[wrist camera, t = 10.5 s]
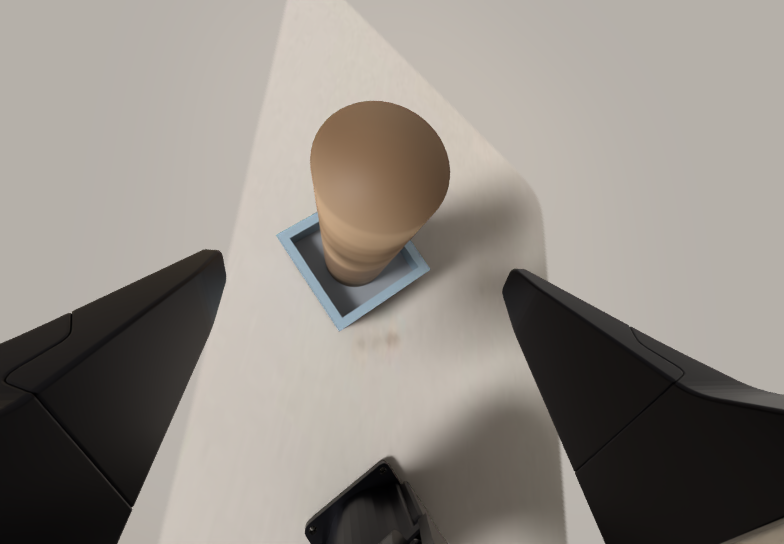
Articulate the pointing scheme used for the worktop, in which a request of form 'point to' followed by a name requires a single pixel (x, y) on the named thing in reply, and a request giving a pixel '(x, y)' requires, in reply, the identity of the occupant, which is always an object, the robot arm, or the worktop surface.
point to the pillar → (374, 185)
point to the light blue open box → (339, 298)
